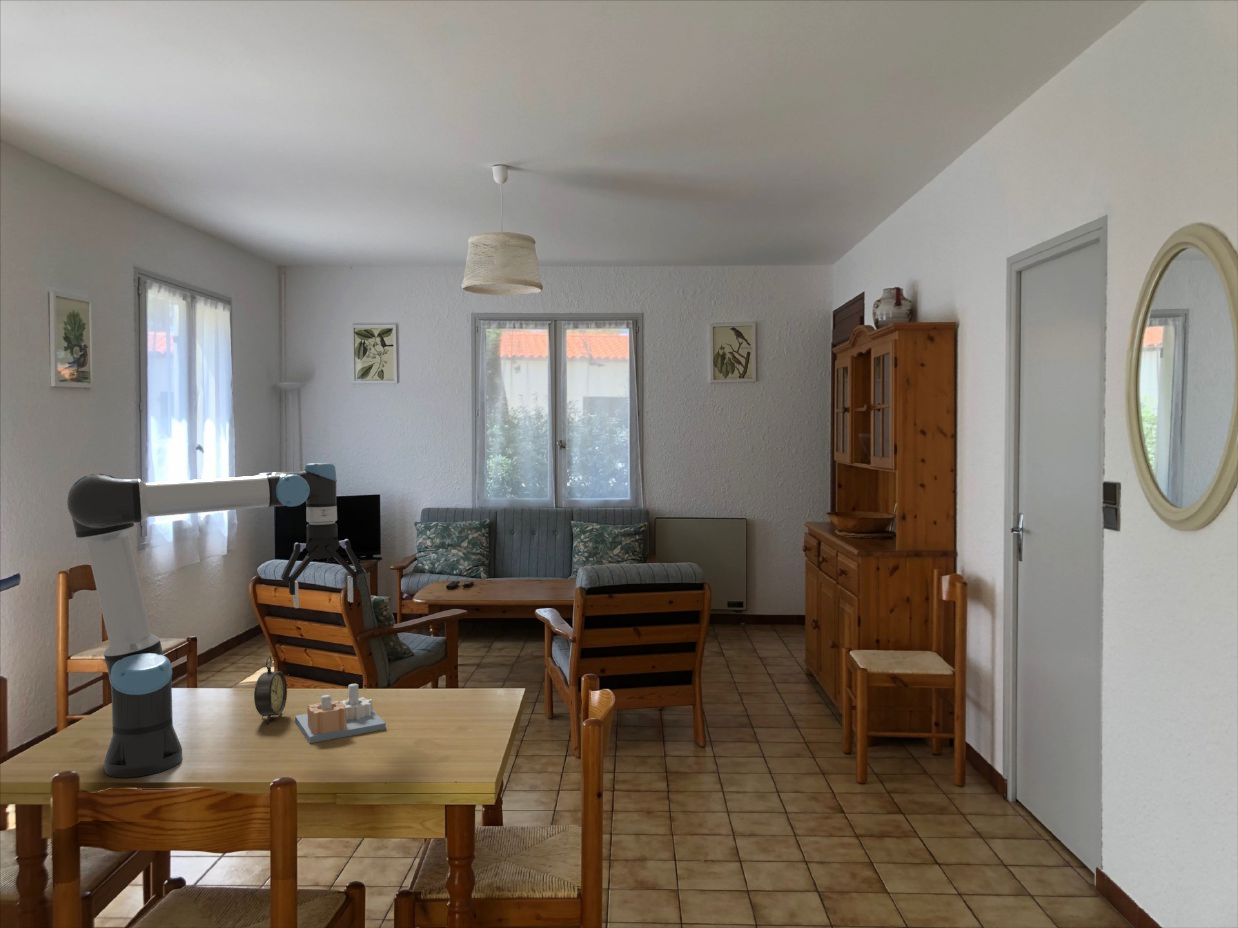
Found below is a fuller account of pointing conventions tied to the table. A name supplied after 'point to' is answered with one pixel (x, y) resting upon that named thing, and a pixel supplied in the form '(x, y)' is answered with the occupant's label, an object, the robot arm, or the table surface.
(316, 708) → the loose gear
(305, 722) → the gear board
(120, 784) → the table surface
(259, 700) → the alarm clock
